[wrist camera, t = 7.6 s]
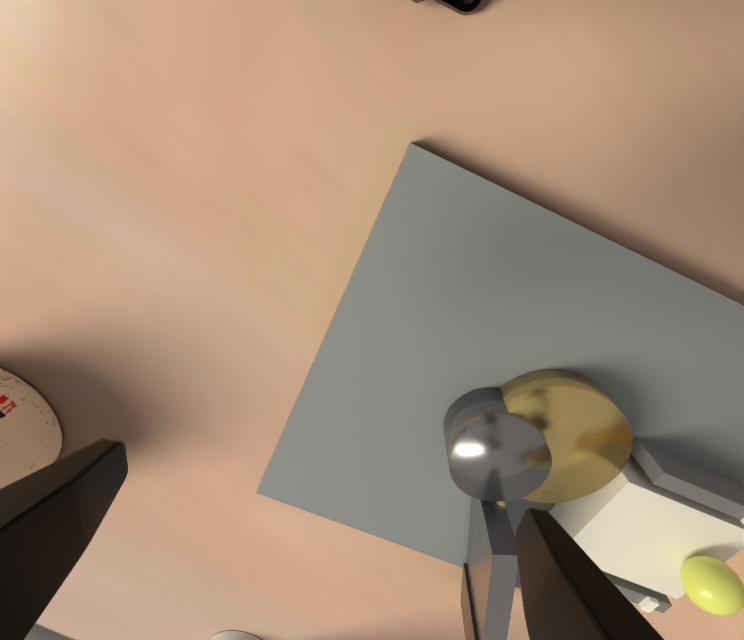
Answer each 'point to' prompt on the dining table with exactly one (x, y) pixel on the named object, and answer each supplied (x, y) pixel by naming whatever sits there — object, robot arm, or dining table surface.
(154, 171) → the dining table surface
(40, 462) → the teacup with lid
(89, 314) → the dining table surface
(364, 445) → the level stand
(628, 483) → the cam foot
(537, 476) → the cam capstan
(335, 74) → the dining table surface
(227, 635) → the chalice
